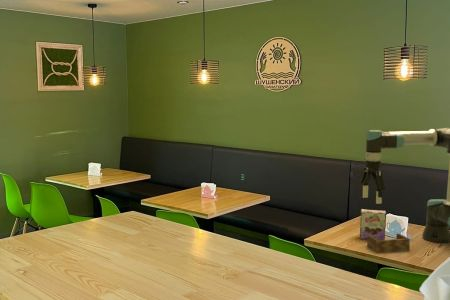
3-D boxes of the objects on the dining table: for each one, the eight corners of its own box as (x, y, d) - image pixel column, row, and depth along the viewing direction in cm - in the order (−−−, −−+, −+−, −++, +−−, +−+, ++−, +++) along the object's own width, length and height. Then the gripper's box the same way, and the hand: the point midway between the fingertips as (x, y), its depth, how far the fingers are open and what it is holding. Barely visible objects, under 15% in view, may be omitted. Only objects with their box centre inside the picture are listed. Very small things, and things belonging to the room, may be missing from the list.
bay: (398, 243, 254) (399, 233, 253) (409, 249, 244) (409, 239, 243) (367, 246, 251) (367, 235, 250) (376, 252, 241) (377, 241, 240)
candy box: (359, 238, 263) (360, 211, 261) (359, 235, 269) (360, 208, 267) (384, 241, 259) (386, 213, 257) (384, 238, 264) (385, 210, 262)
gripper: (354, 157, 247) (353, 195, 250) (379, 164, 223) (378, 206, 226) (367, 156, 249) (366, 194, 251) (393, 163, 224) (391, 205, 227)
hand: (371, 200), depth 238 cm, fingers open, 13 cm apart
